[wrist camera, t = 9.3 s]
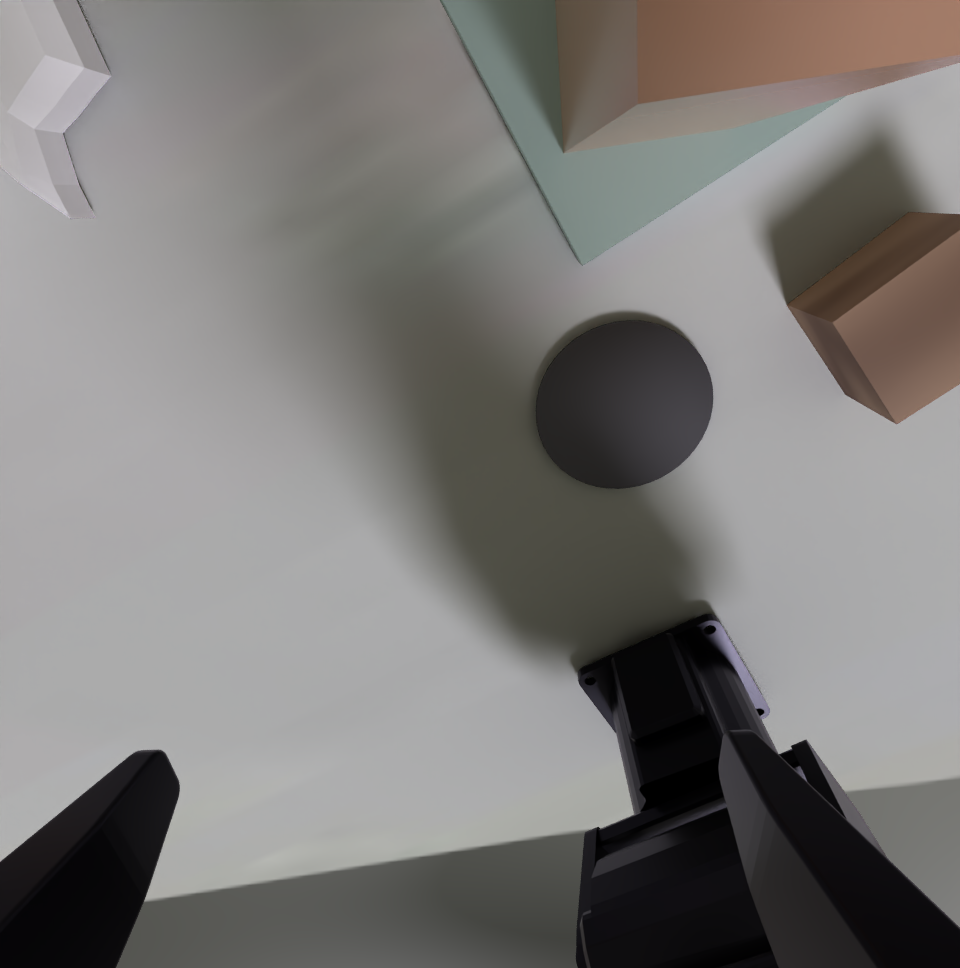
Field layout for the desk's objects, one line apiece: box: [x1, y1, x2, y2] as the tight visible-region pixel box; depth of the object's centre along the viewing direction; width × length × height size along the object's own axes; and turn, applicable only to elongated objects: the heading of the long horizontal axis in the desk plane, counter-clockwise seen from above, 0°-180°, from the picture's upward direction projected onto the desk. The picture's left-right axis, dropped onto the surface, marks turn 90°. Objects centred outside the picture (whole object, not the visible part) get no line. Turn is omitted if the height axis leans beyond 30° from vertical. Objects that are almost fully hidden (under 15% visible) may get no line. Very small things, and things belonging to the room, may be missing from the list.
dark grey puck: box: [536, 321, 713, 489], centre depth 20 cm, size 6×6×1 cm
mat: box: [440, 0, 847, 266], centre depth 15 cm, size 8×8×1 cm
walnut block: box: [787, 212, 960, 424], centre depth 17 cm, size 4×4×3 cm
